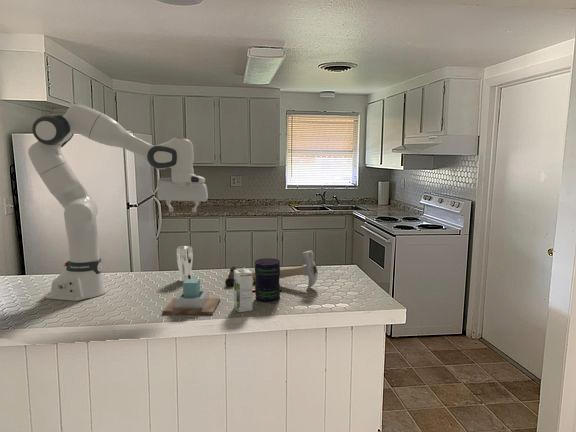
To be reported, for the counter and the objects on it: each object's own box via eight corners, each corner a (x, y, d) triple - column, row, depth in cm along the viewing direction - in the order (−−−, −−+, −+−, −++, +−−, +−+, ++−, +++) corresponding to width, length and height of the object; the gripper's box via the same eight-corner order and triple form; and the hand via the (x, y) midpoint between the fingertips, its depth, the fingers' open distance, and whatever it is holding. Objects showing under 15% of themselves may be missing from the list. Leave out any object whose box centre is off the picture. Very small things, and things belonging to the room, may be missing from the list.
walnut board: (162, 314, 156) (162, 311, 156) (174, 301, 170) (173, 298, 170) (212, 314, 155) (212, 311, 155) (220, 301, 169) (220, 298, 169)
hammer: (248, 260, 193) (309, 252, 179) (253, 258, 197) (313, 249, 183) (255, 295, 193) (317, 289, 180) (260, 292, 198) (321, 286, 184)
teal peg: (183, 306, 160) (182, 282, 159) (187, 302, 165) (186, 278, 164) (197, 307, 160) (196, 283, 159) (200, 302, 165) (199, 279, 164)
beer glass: (191, 282, 194) (190, 249, 192) (175, 282, 194) (174, 249, 192) (195, 277, 201) (193, 245, 199) (179, 277, 201) (178, 245, 199)
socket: (175, 309, 158) (174, 298, 157) (182, 299, 168) (182, 289, 167) (202, 309, 157) (202, 298, 157) (208, 300, 167) (208, 289, 167)
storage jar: (268, 292, 180) (268, 257, 177) (285, 298, 173) (285, 261, 170) (249, 298, 173) (249, 261, 170) (266, 304, 166) (266, 266, 163)
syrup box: (233, 307, 163) (232, 269, 160) (248, 305, 165) (248, 268, 163) (237, 312, 157) (236, 273, 155) (253, 310, 159) (252, 271, 157)
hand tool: (234, 287, 188) (234, 276, 187) (225, 287, 188) (225, 276, 187) (240, 275, 206) (240, 265, 206) (231, 275, 206) (231, 265, 206)
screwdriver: (253, 279, 187) (247, 262, 217) (245, 279, 187) (240, 263, 216) (253, 287, 188) (247, 269, 217) (245, 287, 187) (240, 270, 216)
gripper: (154, 177, 176) (155, 211, 177) (205, 178, 175) (205, 213, 177) (160, 177, 182) (160, 210, 184) (208, 178, 181) (208, 211, 183)
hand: (182, 211), depth 180 cm, fingers open, 8 cm apart
